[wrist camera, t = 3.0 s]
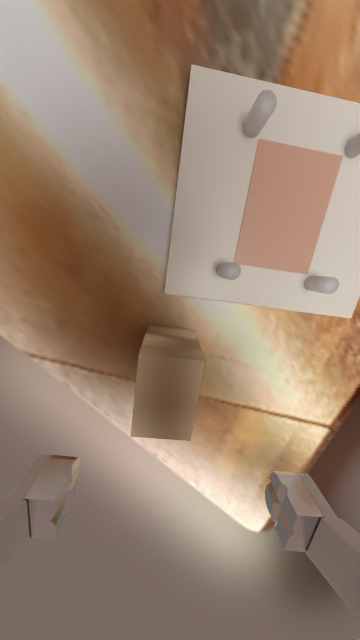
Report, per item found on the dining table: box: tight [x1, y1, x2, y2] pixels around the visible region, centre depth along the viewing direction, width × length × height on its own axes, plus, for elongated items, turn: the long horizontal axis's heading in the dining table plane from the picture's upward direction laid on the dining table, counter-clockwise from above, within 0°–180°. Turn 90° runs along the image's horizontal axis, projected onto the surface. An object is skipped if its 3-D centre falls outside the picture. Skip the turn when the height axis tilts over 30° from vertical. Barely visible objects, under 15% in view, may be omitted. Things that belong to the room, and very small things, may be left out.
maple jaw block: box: [131, 325, 205, 441], centre depth 16 cm, size 4×6×6 cm, turn 172°
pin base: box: [164, 65, 360, 318], centre depth 14 cm, size 16×14×3 cm
